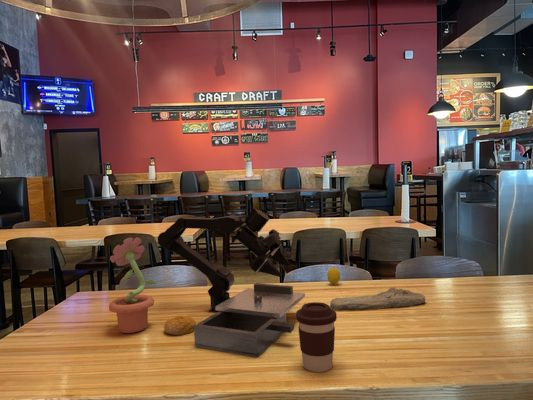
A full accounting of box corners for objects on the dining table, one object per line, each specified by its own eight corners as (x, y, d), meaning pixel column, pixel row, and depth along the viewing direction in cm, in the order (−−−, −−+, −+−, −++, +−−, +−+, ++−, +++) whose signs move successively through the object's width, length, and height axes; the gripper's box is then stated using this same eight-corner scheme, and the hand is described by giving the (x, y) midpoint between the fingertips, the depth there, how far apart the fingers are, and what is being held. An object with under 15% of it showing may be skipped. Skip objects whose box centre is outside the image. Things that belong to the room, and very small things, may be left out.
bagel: (202, 325, 128) (202, 311, 128) (185, 338, 118) (184, 323, 118) (176, 323, 131) (175, 309, 131) (157, 335, 121) (156, 320, 121)
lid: (215, 310, 123) (215, 298, 123) (248, 291, 143) (247, 281, 143) (279, 318, 114) (279, 305, 114) (305, 296, 134) (304, 286, 134)
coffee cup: (294, 358, 101) (292, 301, 101) (332, 355, 102) (330, 298, 102) (301, 377, 92) (299, 314, 91) (342, 374, 92) (341, 311, 92)
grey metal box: (194, 346, 111) (193, 325, 111) (230, 322, 129) (229, 304, 129) (278, 361, 100) (278, 338, 100) (305, 332, 118) (304, 313, 118)
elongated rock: (327, 308, 145) (334, 318, 135) (326, 294, 144) (333, 304, 135) (417, 296, 148) (431, 306, 138) (416, 283, 147) (430, 292, 138)
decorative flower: (146, 317, 137) (141, 232, 136) (166, 327, 127) (161, 235, 126) (103, 330, 127) (97, 238, 126) (121, 341, 117) (116, 241, 116)
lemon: (340, 286, 167) (339, 268, 167) (327, 286, 168) (326, 268, 168) (340, 283, 173) (340, 265, 172) (327, 283, 174) (327, 265, 173)
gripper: (253, 233, 127) (290, 265, 125) (273, 218, 144) (306, 245, 142) (236, 256, 131) (271, 287, 129) (256, 239, 148) (288, 266, 146)
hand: (285, 270), depth 136 cm, fingers open, 9 cm apart
